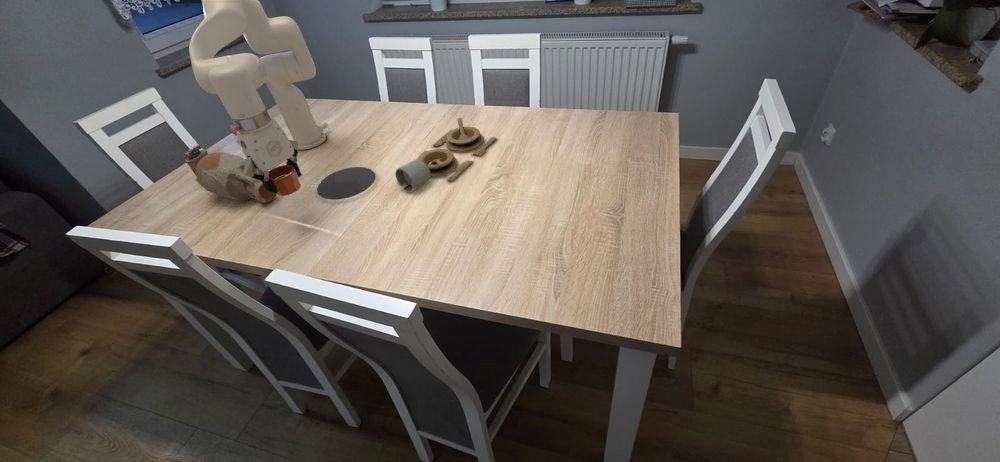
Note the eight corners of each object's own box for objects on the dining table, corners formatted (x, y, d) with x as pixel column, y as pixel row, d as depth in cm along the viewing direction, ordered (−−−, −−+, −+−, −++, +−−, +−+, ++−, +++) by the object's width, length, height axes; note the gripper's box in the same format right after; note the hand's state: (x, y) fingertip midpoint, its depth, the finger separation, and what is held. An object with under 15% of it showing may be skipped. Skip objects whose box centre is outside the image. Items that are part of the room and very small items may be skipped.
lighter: (203, 180, 135) (186, 155, 129) (195, 180, 136) (177, 154, 130) (220, 168, 141) (204, 142, 135) (212, 167, 142) (196, 142, 136)
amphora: (211, 141, 129) (255, 143, 112) (248, 179, 139) (294, 185, 122) (173, 169, 122) (214, 175, 105) (216, 206, 132) (259, 217, 115)
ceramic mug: (434, 181, 122) (429, 159, 117) (415, 195, 117) (409, 172, 112) (410, 172, 127) (404, 151, 122) (391, 185, 123) (384, 163, 118)
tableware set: (452, 130, 147) (449, 115, 143) (498, 139, 139) (497, 123, 135) (401, 172, 128) (396, 155, 124) (452, 184, 120) (448, 167, 116)
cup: (289, 179, 110) (280, 162, 106) (308, 183, 107) (300, 167, 103) (268, 193, 105) (258, 177, 102) (288, 199, 102) (278, 182, 99)
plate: (345, 166, 134) (344, 163, 133) (388, 175, 127) (387, 171, 127) (305, 196, 122) (304, 193, 121) (350, 207, 116) (349, 204, 115)
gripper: (230, 139, 86) (268, 205, 98) (292, 106, 98) (320, 168, 109) (208, 135, 89) (248, 199, 100) (271, 103, 101) (300, 164, 112)
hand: (285, 183), depth 105 cm, fingers closed on cup, 7 cm apart
